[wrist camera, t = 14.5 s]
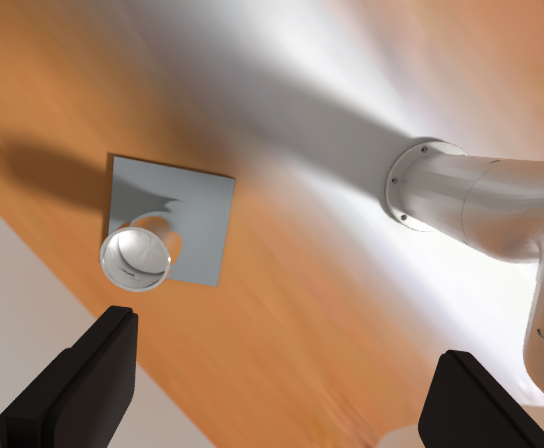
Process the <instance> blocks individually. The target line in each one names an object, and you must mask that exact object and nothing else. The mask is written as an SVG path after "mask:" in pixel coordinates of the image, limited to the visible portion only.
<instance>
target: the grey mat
mask: <svg viewBox="0 0 544 448" xmlns="http://www.w3.org/2000/svg"><path fill="white" fill-rule="evenodd" d="M234 185H235V179H234V178H229V177H224V176H219V175H213V174H208V173H203V172H198V171H192V170H187V169H182V168H177V167H171V166H166V165H161V164H156V163H151V162H145V161H140V160H135V159H130V158H124V157H119V156H115V157H114V166H113V180H112V193H111V206H110V219H109V233H108V236H109V235H110V234H111V233H113V232H114V231H115V230H116V229H117V228H118V227H120V226H121V225H122V224H123V223H125V222H126V221H128V220H129V219H131V218H133V217H135V216H136V215H139V214H142V213H145V212H149V211H154V210H155V209H156V208H157V207H158V206H159V205H160V204H161V203H163V202H165V201H169V200H177V201H181V202H184V203H185V204H187V205H188V206H189V207H190V208H191V209H192V210H193V211H194V213H195V215H196V219H197V226H196V230H195V232H194V234H193V235H192V236H191V237H190V238H189V239H188V240H186V245H185V249H184V252H183V255H182V257H181V259H180V261H179V262H178V264H177V265H176V267H175V268H174V269H173V271H172V272H171V273H170V274H169V275H168V276H167V277H166V278H167V279H173V280H179V281H185V282H192V283H198V284H204V285H210V286H216V287H217V285H218V280H219V274H220V268H221V262H222V256H223V251H224V245H225V239H226V233H227V227H228V221H229V215H230V209H231V203H232V197H233V191H234Z"/></svg>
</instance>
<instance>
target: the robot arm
mask: <svg viewBox="0 0 544 448" xmlns="http://www.w3.org/2000/svg"><path fill="white" fill-rule="evenodd" d="M422 148H423V150H422V151H421V149H422ZM393 178H394V181H393V182H392V179H393ZM385 196H386V201H387V205H388V207H389V210H390V212H391V213H392V215H393V216H394V217H395V218H396V219H397V220H398V221H399V222H400V223H401V224H403V225H405V226H406V227H408V228H411V229H413V230H417V231H422V232H430V231H436V230H438V231H440V232H442V233H444V234H446V235H448V236H450V237H452V238H454V239H456V240H458V241H460V242H462V243H464V244H466V245H467V246H469V247H471V248H473V249H475V250H477V251H479V252H481V253H483V254H485V255H487V256H489V257H491V258H494V259H496V260H499V261H503V262H507V263H514V264H530V263H537V262H539V266H538V270H537V275H536V286H535V291H534V296H533V300H532V305H531V309H530V314H529V319H528V323H527V328H526V333H525V338H524V345H523V360H524V365H525V368H526V371H527V373H528V375H529V376H530V378H531V379H532V381H533V382H534V383H535V385H536V386H537V387H538V388H539V389H540V390H541V391H542V392H543V393H544V162H543V161H530V160H513V159H501V158H489V157H476V156H469V155H468V154H467V153H466V152H465V151H464V150H463V149H461V148H459V147H458V146H456V145H454V144H451V143H448V142H440V141H431V142H425V143H421V144H419V145H416V146H414V147H412V148H410V149H409V150H407V151H406V152H405V153H404V154H402V155H401V156H400V157H399V158H398V160H397V161H396V162H395V163H394V165H393V166H392V168H391V170H390V172H389V175H388V178H387V181H386V187H385ZM402 215H403V217H401V216H402ZM137 333H138V314H136V313H133V310H132V308H129V307H121V306H110V307H109V308H108V309H107V310H106V311H105V312H104V313H103V314H102V315H101V316H100V317H99V319H98V320H97V321H96V322H95V323H94V324H93V325H92V326H91V327H90V328H89V329H88V330H87V331H86V332H85V333H84V334H83V335H82V336H81V338H80V339H79V340H78V341H77V342H76V343H75V344H74V345H73V346H72V347H71V348H66V349H64V350H63V351H62V352H61V353H60V354H59V355H58V356H57V357H56V358H55V359H54V360H53V361H52V362H51V363H50V364H49V365H48V366H47V367H46V368H45V369H44V370H43V371H42V372H41V373H40V374H39V375H38V376H37V377H36V378H35V379H34V380H33V381H32V382H31V383H30V384H29V385H28V387H27V388H26V389H25V390H24V391H23V392H22V393H21V394H20V395H19V396H18V397H17V398H16V399H15V400H14V401H13V402H12V403H11V404H10V405H9V406H8V407H7V408H6V409H5V410H4V411H3V412H2V413H1V414H0V448H107V446H108V444H109V442H110V440H111V439H112V437H113V435H114V433H115V431H116V429H117V427H118V425H119V423H120V422H121V419H122V418H123V415H124V414H125V412H126V410H127V408H128V406H129V404H130V402H131V400H132V397H133V394H134V387H135V369H136V352H137ZM418 431H419V435H420V438H421V440H422V442H423V444H424V446H425V448H544V431H543V430H542V429H541V428H540V427H539V425H538V424H537V423H536V422H535V421H534V420H533V419H532V418H531V417H530V416H529V415H528V414H527V413H526V412H525V411H524V410H523V409H522V407H521V406H520V405H519V404H518V403H517V402H516V401H515V400H514V399H513V398H512V397H511V396H510V395H509V394H508V392H507V391H506V390H505V389H504V388H503V387H502V386H501V385H500V384H499V383H498V382H497V381H496V380H495V379H494V378H493V376H492V375H491V374H490V373H489V372H488V371H487V370H486V369H485V368H484V367H483V366H482V365H481V364H480V363H479V362H478V361H477V359H476V358H475V357H474V356H473V355H472V354H470V353H469V352H464V351H456V350H448V351H446V353H445V354H442V355H441V356H440V358H439V361H438V364H437V367H436V370H435V373H434V376H433V380H432V383H431V386H430V389H429V392H428V395H427V398H426V401H425V404H424V407H423V410H422V413H421V416H420V419H419V423H418Z"/></svg>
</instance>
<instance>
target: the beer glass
mask: <svg viewBox="0 0 544 448" xmlns="http://www.w3.org/2000/svg"><path fill="white" fill-rule="evenodd" d="M196 226H197V219H196V215H195V213H194V211H193V210H192V209H191V208H190V207H189V206H188V205H187V204H185V203H184V202H181V201H177V200H169V201H165V202H163V203H161V204H160V205H159V206H158V207H157V208H156V209H155V210H154V211H149V212H145V213H142V214H139V215H136V216H135V217H133V218H131V219H129V220H128V221H126V222H125V223H123V224H122V225H121V226H120V227H118V228H117V229H116V230H115V231H114V232H113V233H111V234H110V235H109V236H108V237H107V238H106V239H105V241H104V242H103V244H102V246H101V250H100V263H101V267H102V269H103V271H104V273H105V275H106V276H107V277H108V279H109V280H110V281H111V282H113V283H114V284H115V285H117V286H118V287H120V288H122V289H125V290H128V291H133V292H144V291H148V290H151V289H153V288H155V287H157V286H158V285H160V284H161V283H162V282H163V281H164V280H165V278H166V277H167V276H168V275H169V274H170V273H171V272H172V271H173V269H174V268H175V267H176V265H177V264H178V262H179V261H180V259H181V257H182V255H183V252H184V249H185V245H186V240H188V239H189V238H190V237H191V236H192V235H193V234H194V232H195V230H196Z"/></svg>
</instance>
